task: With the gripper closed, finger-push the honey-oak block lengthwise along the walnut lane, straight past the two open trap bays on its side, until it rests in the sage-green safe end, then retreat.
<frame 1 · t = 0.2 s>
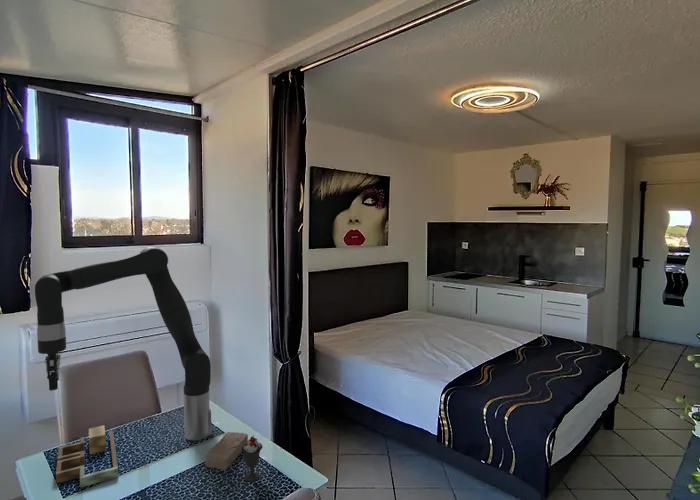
hand: (54, 385, 139), 29 cm above the table, fingers open, 8 cm apart
block: (97, 447, 155), on the table
sundae: (252, 478, 138), on the table
brick: (227, 456, 151), on the table
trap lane: (98, 459, 147), on the table
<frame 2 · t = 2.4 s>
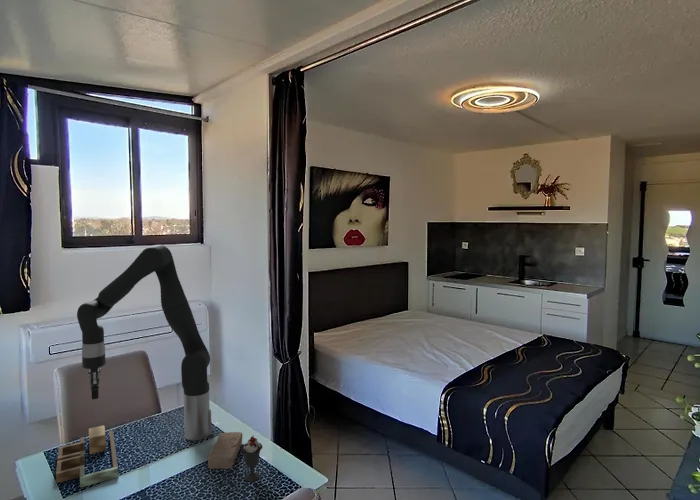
hand: (95, 398, 162), 15 cm above the table, fingers closed
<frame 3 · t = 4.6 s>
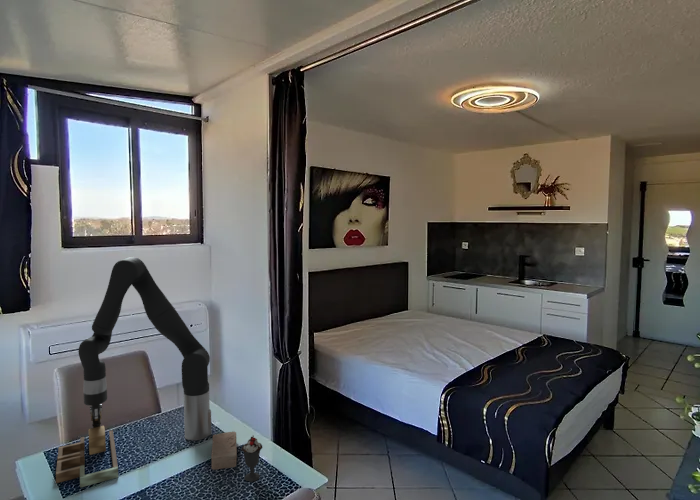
hand: (96, 434, 161), 2 cm above the table, fingers closed
block: (97, 447, 155), on the table, touching gripper
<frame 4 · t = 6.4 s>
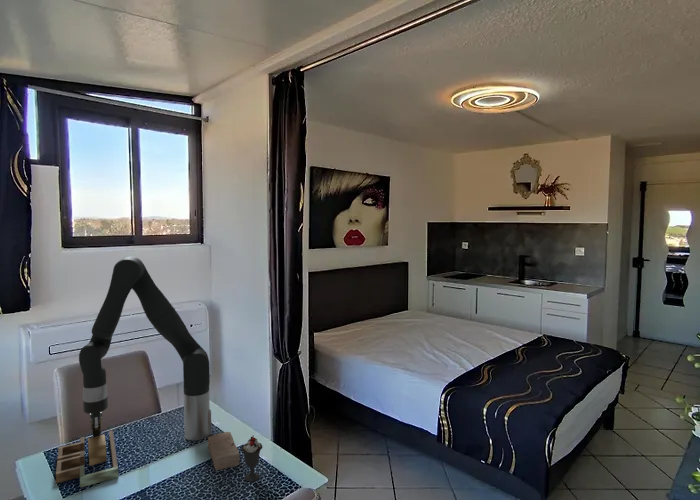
hand: (97, 443, 154), 2 cm above the table, fingers closed
block: (97, 457, 148), on the table, touching gripper
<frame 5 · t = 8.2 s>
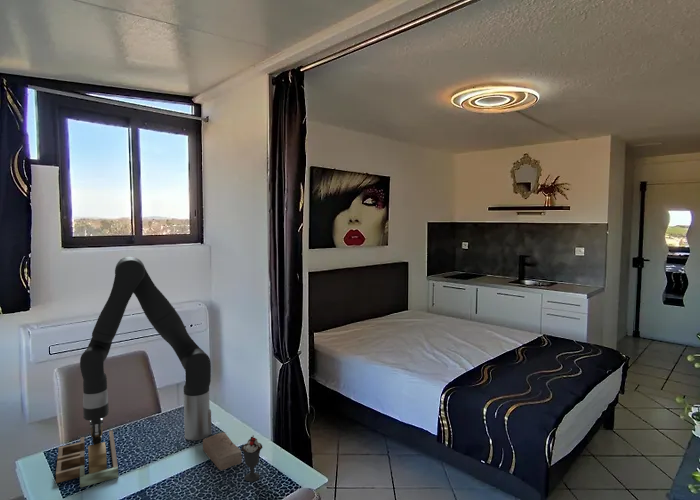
hand: (97, 450, 149), 2 cm above the table, fingers closed
block: (97, 466, 143), on the table, touching gripper
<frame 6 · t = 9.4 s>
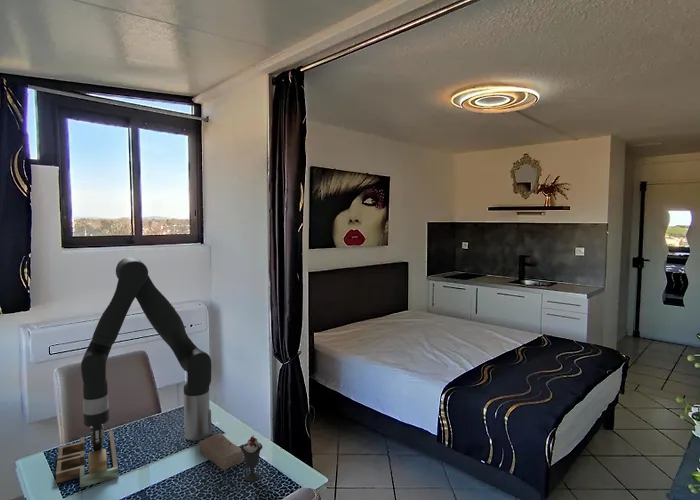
hand: (97, 457, 145), 2 cm above the table, fingers closed
block: (98, 474, 139), on the table, touching gripper, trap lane
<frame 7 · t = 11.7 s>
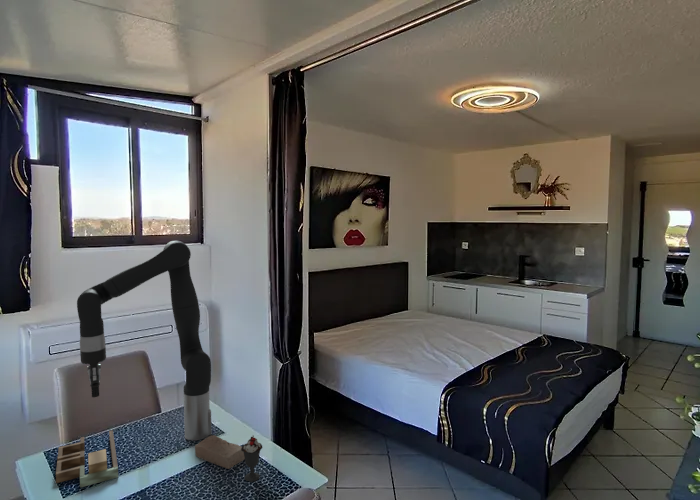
hand: (95, 396, 148), 21 cm above the table, fingers closed
block: (98, 474, 139), on the table
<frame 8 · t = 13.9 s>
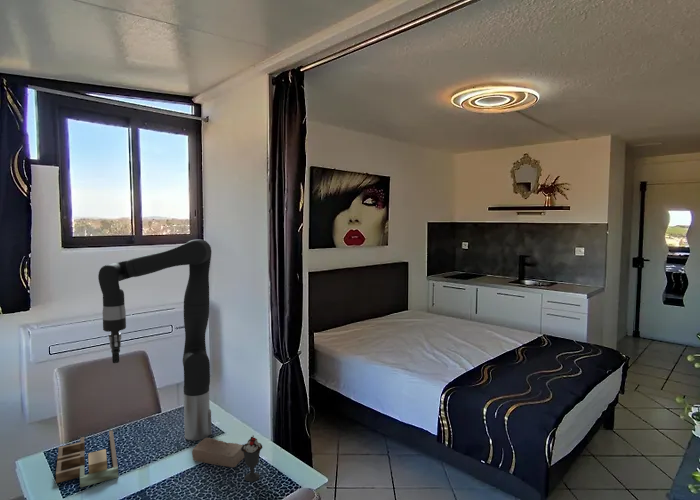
hand: (115, 362, 161), 29 cm above the table, fingers closed
at the end: block inside the target area (0.7 cm from its centre), on the table; block moved 18.9 cm from its start; block tilted 0° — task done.
